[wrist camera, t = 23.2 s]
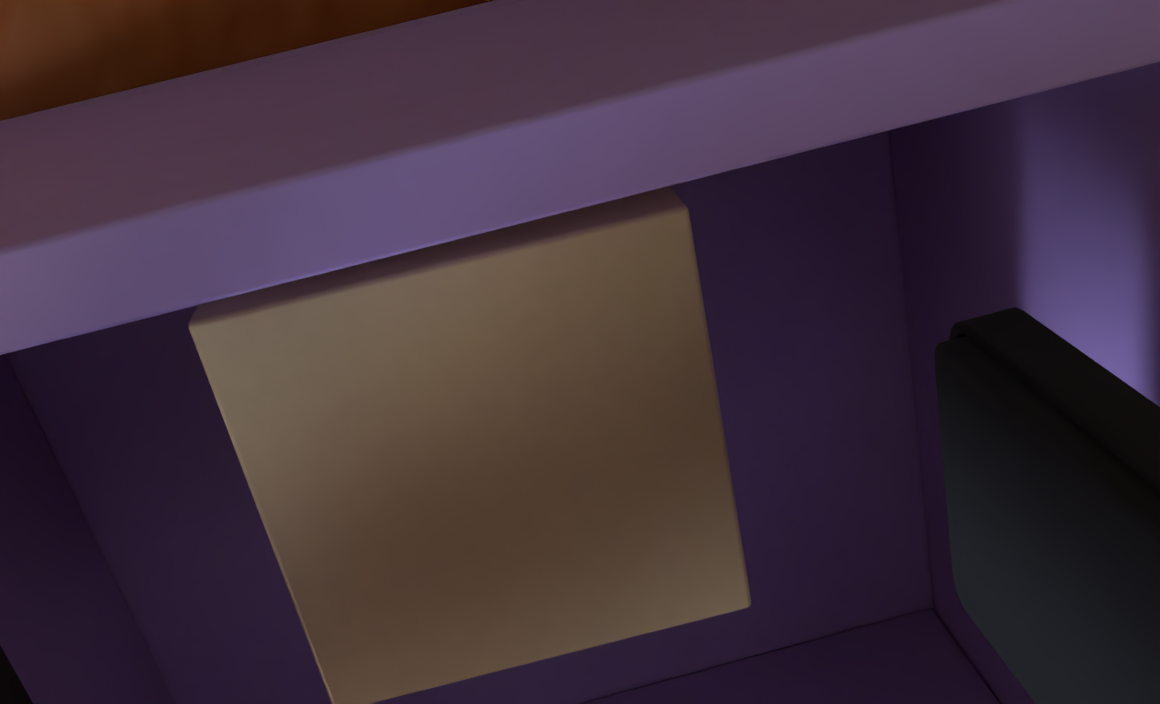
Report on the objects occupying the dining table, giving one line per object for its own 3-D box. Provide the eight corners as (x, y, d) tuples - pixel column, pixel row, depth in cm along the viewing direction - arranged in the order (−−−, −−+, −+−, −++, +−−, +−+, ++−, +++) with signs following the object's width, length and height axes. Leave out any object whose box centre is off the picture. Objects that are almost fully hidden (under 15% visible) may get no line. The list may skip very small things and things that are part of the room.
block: (253, 188, 15) (184, 324, 10) (606, 107, 15) (689, 206, 11) (354, 492, 17) (334, 714, 13) (663, 416, 17) (753, 608, 13)
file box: (-126, 150, 15) (-610, 400, 8) (899, -100, 16) (1310, -77, 8) (202, 807, 20) (90, 1312, 13) (957, 601, 21) (1241, 978, 14)
